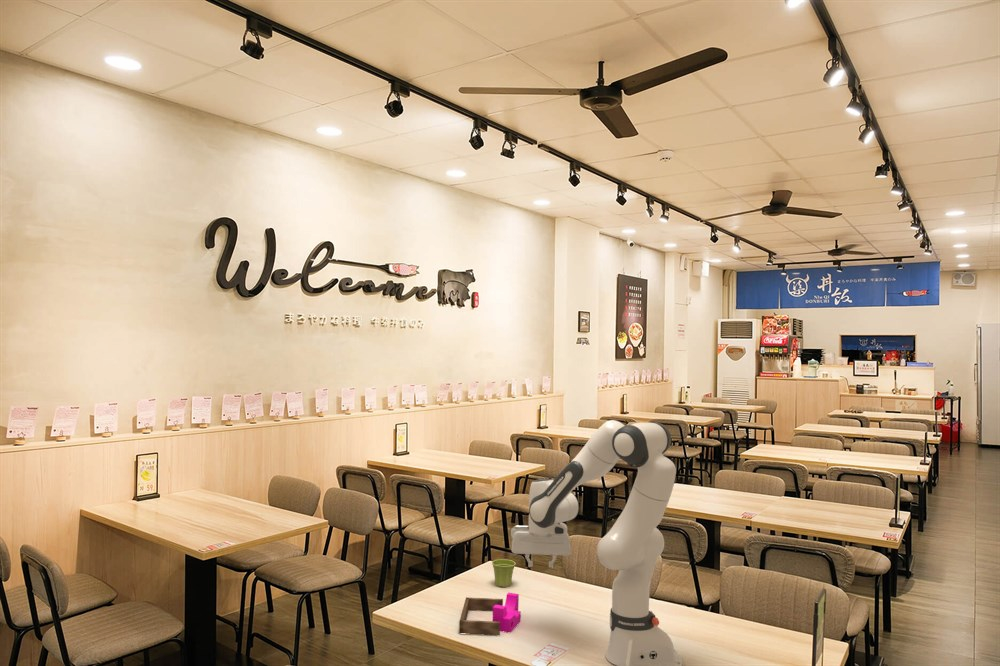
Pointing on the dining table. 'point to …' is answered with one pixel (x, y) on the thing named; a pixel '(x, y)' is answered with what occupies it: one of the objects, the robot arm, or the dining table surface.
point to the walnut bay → (479, 626)
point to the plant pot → (503, 572)
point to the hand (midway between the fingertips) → (540, 567)
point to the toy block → (508, 613)
